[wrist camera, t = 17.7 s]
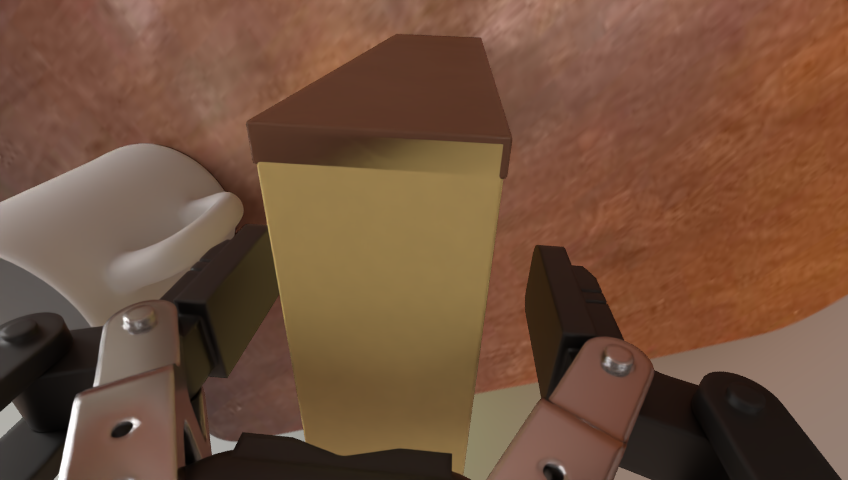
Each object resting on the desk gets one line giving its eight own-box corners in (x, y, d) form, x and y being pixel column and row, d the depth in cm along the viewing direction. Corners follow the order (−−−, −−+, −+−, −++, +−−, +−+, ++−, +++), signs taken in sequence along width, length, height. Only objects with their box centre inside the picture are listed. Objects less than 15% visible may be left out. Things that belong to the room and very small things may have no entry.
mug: (158, 279, 29) (11, 415, 20) (70, 167, 25) (-165, 270, 16) (309, 233, 26) (222, 368, 17) (235, 100, 23) (69, 177, 13)
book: (458, 526, 12) (513, 136, 6) (314, 509, 12) (244, 120, 7) (463, 239, 26) (481, 37, 20) (395, 234, 26) (395, 34, 20)
